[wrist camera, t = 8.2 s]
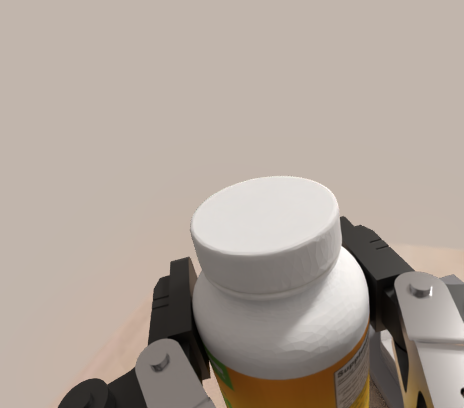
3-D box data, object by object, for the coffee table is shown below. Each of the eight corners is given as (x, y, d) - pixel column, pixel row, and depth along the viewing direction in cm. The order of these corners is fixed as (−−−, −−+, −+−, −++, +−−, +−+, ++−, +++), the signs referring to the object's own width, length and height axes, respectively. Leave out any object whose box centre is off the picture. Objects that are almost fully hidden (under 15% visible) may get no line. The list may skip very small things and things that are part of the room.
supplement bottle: (208, 426, 13) (122, 237, 8) (278, 331, 16) (243, 159, 12) (331, 536, 10) (299, 320, 5) (389, 388, 13) (400, 176, 8)
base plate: (443, 502, 18) (445, 495, 17) (334, 314, 30) (334, 307, 30) (637, 443, 18) (644, 434, 18) (452, 281, 30) (453, 274, 30)
